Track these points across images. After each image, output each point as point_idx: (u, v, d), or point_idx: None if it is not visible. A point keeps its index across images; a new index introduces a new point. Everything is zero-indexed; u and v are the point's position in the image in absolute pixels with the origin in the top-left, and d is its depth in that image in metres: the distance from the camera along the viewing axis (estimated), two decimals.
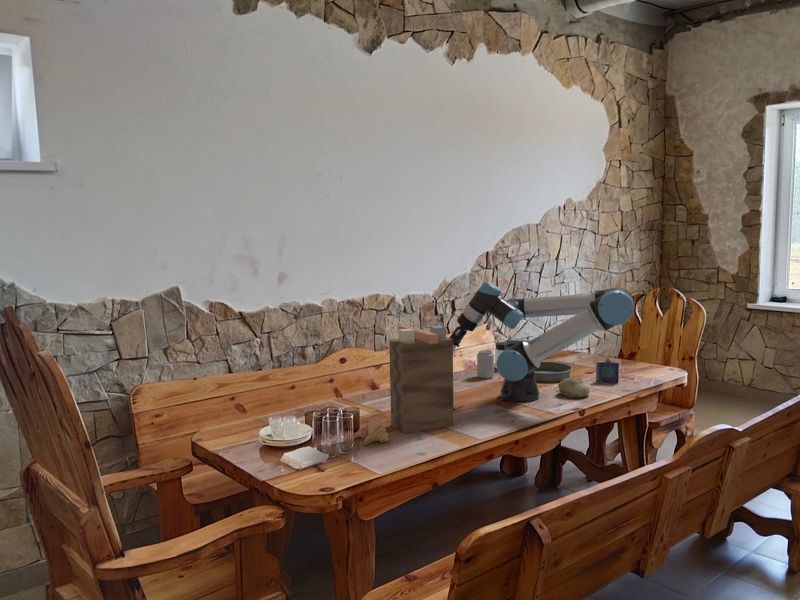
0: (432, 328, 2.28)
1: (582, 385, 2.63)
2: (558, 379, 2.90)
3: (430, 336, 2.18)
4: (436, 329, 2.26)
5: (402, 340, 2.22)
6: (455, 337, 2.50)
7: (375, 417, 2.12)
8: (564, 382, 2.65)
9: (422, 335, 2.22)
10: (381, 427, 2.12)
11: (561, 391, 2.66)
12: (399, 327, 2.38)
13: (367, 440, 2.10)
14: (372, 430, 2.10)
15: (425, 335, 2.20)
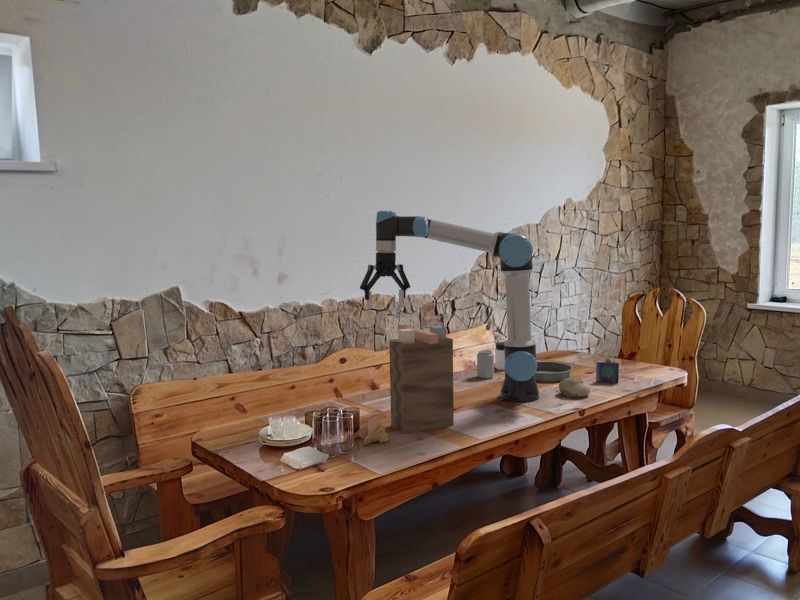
0: (432, 328, 2.28)
1: (582, 385, 2.63)
2: (558, 379, 2.90)
3: (430, 336, 2.18)
4: (436, 329, 2.26)
5: (402, 340, 2.22)
6: (368, 272, 2.51)
7: (375, 417, 2.12)
8: (564, 382, 2.65)
9: (422, 335, 2.22)
10: (381, 427, 2.12)
11: (561, 391, 2.66)
12: (399, 327, 2.38)
13: (367, 440, 2.10)
14: (372, 430, 2.09)
15: (425, 335, 2.20)
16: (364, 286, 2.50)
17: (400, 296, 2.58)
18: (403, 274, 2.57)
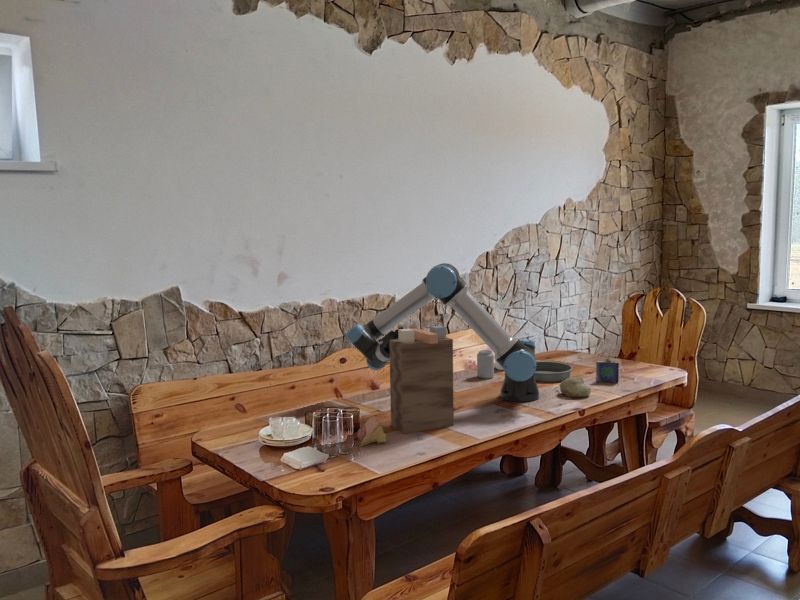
0: (432, 328, 2.28)
1: (583, 385, 2.63)
2: (558, 379, 2.90)
3: (430, 336, 2.18)
4: (436, 329, 2.26)
5: (402, 340, 2.22)
6: (383, 339, 2.41)
7: (373, 418, 2.11)
8: (565, 382, 2.65)
9: (422, 335, 2.22)
10: (379, 428, 2.11)
11: (562, 391, 2.67)
12: (399, 327, 2.38)
13: (365, 441, 2.09)
14: (370, 431, 2.09)
15: (425, 335, 2.20)
16: None
17: None
18: None
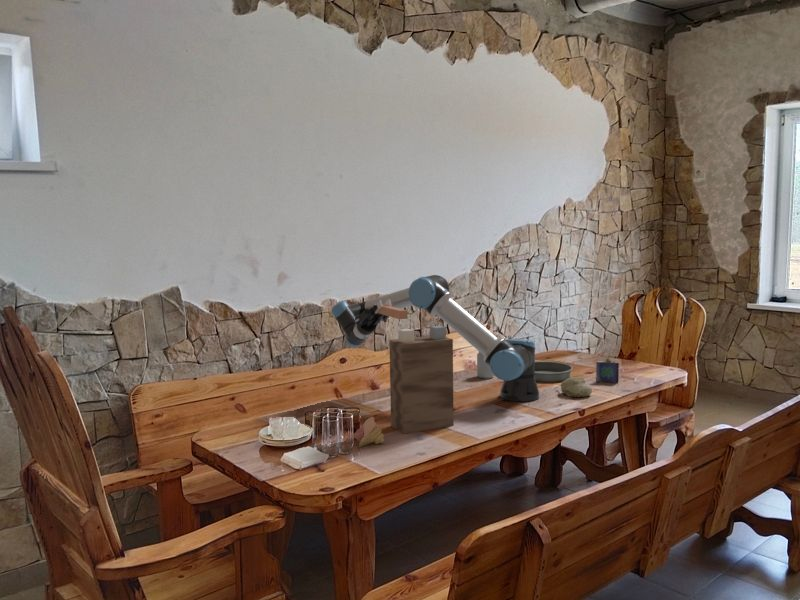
0: (432, 328, 2.28)
1: (584, 385, 2.63)
2: (558, 379, 2.90)
3: (400, 312, 2.37)
4: (436, 329, 2.26)
5: (402, 340, 2.22)
6: (359, 317, 2.60)
7: (371, 418, 2.10)
8: (566, 382, 2.65)
9: (394, 311, 2.41)
10: (377, 428, 2.11)
11: (563, 390, 2.67)
12: None
13: (363, 442, 2.08)
14: (368, 431, 2.08)
15: (396, 311, 2.40)
16: None
17: None
18: None
